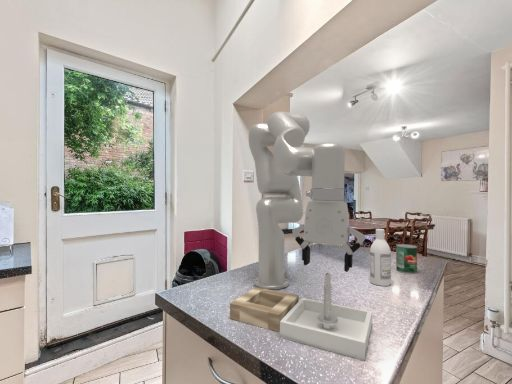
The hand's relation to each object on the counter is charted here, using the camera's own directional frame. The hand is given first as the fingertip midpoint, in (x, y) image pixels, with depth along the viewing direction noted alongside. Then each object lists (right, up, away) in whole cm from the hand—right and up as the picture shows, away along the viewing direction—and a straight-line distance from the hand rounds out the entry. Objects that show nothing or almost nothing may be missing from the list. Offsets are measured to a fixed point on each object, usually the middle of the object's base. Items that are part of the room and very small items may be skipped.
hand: (326, 267), depth 63 cm
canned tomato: (+48, -16, +49) cm, 71 cm away
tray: (0, -15, -1) cm, 15 cm away
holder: (-14, -15, +8) cm, 22 cm away
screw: (0, -14, -1) cm, 14 cm away
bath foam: (+29, -16, +34) cm, 47 cm away
